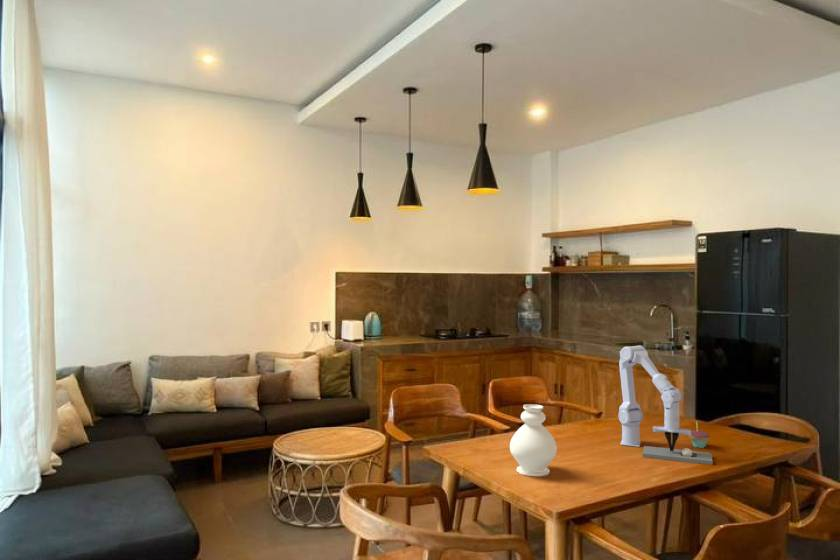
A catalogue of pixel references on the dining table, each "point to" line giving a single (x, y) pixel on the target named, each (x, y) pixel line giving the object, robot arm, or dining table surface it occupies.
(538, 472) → the decorative vase
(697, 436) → the cupcake
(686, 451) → the ball
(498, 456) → the dining table surface
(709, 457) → the board
